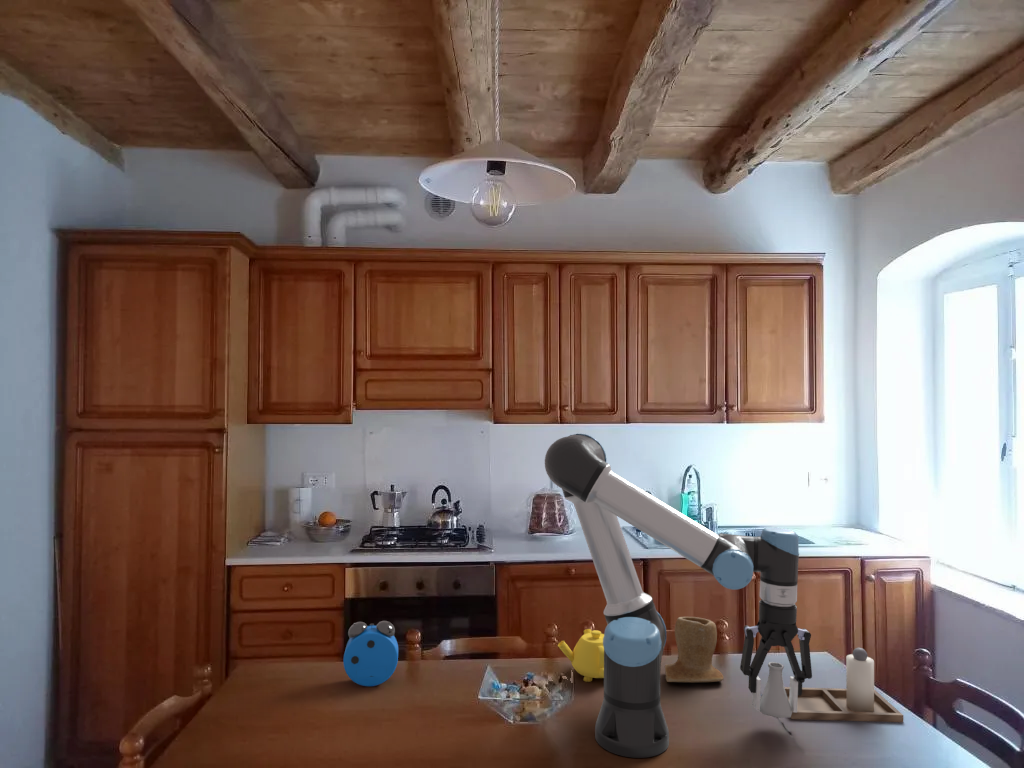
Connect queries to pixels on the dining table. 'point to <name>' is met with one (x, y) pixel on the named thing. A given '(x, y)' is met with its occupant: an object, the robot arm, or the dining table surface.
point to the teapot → (587, 655)
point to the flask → (775, 694)
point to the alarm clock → (371, 653)
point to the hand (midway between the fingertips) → (774, 708)
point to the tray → (840, 707)
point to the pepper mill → (860, 681)
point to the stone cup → (694, 652)
